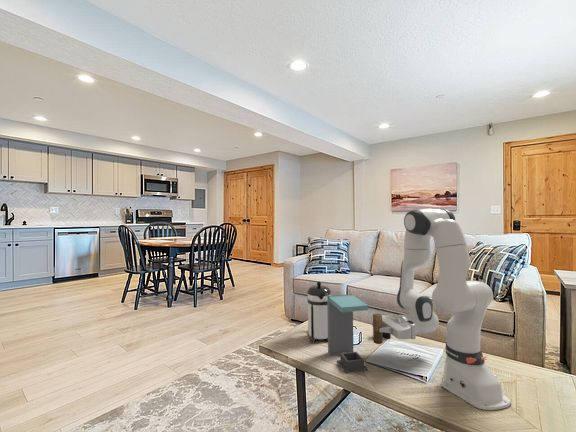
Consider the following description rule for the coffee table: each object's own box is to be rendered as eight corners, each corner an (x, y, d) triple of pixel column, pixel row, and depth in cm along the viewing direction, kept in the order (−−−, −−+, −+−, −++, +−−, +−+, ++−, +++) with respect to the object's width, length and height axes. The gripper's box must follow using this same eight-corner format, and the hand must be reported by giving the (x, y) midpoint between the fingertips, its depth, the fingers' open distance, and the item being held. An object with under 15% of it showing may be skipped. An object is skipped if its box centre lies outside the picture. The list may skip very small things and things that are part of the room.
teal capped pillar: (369, 369, 125) (368, 305, 125) (342, 372, 122) (341, 307, 122) (351, 349, 142) (351, 294, 142) (328, 352, 140) (327, 295, 140)
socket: (368, 370, 124) (368, 360, 124) (345, 373, 122) (345, 363, 121) (357, 359, 133) (357, 350, 133) (336, 361, 131) (336, 352, 131)
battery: (392, 336, 157) (392, 315, 157) (390, 338, 154) (390, 317, 154) (379, 333, 162) (379, 312, 162) (377, 335, 159) (377, 314, 158)
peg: (384, 343, 130) (383, 316, 130) (376, 344, 130) (375, 317, 130) (379, 339, 134) (379, 313, 134) (371, 340, 134) (371, 314, 134)
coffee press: (340, 337, 157) (340, 281, 157) (321, 346, 146) (320, 286, 146) (316, 328, 170) (315, 276, 169) (296, 336, 159) (295, 281, 158)
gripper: (391, 310, 145) (365, 313, 142) (417, 325, 125) (387, 328, 122) (391, 323, 145) (365, 326, 142) (417, 340, 125) (388, 344, 122)
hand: (375, 327), depth 132 cm, fingers closed on peg, 4 cm apart
